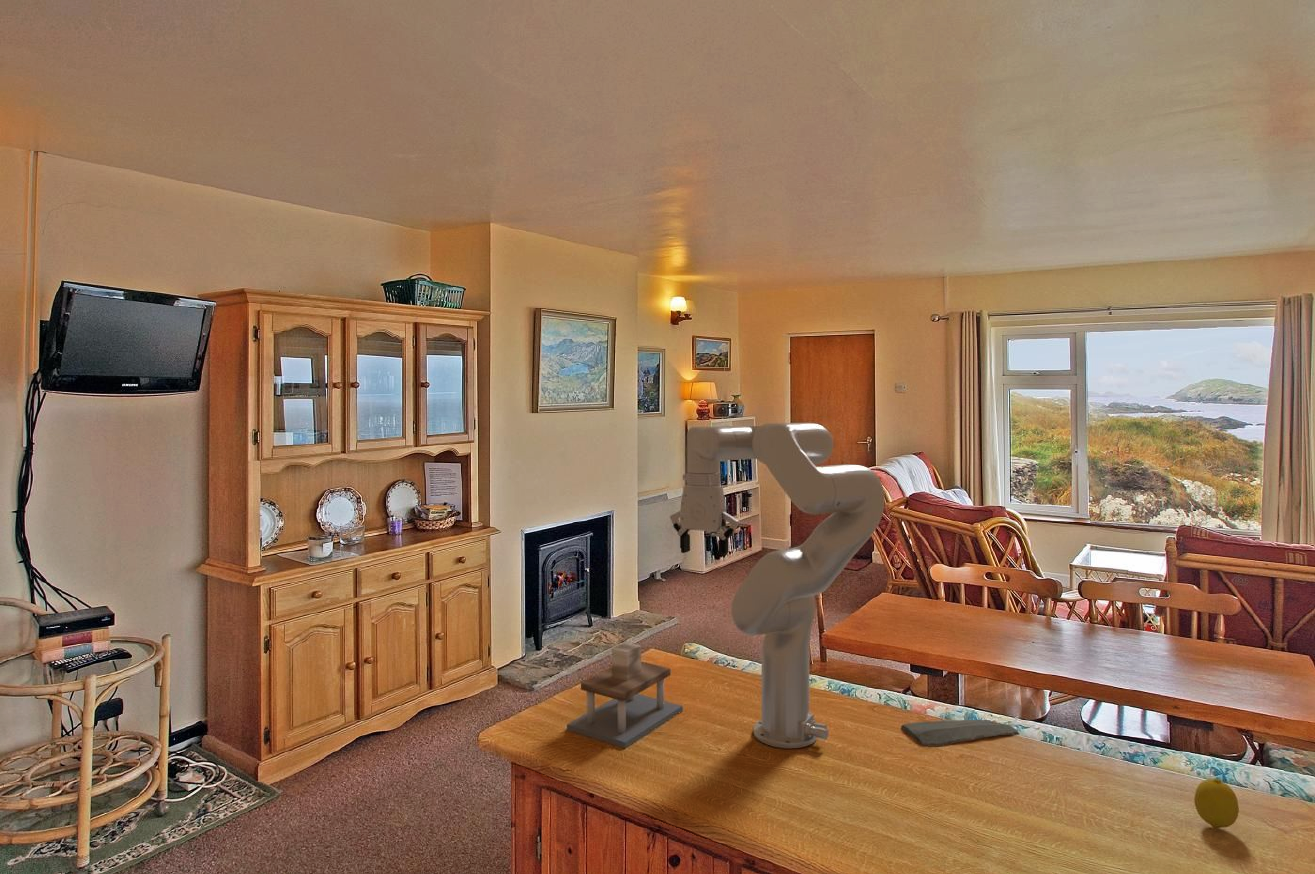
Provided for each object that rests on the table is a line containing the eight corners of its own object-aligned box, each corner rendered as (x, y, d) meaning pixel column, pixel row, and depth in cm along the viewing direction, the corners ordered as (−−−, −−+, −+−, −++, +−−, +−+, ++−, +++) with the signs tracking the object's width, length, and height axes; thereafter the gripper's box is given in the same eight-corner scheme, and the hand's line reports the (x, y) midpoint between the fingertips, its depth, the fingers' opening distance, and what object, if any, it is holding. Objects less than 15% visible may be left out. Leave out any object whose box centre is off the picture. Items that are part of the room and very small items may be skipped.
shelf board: (623, 701, 146) (623, 664, 146) (580, 689, 152) (580, 653, 152) (670, 675, 160) (670, 641, 160) (629, 665, 166) (629, 632, 166)
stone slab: (897, 735, 153) (925, 750, 143) (896, 721, 153) (925, 735, 144) (990, 724, 158) (1024, 739, 149) (989, 711, 158) (1023, 725, 149)
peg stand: (682, 711, 161) (682, 674, 161) (625, 748, 144) (625, 707, 143) (627, 696, 170) (627, 660, 169) (566, 729, 152) (566, 690, 152)
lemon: (1185, 819, 119) (1186, 770, 118) (1217, 817, 119) (1218, 769, 119) (1213, 839, 113) (1215, 788, 113) (1247, 837, 114) (1249, 786, 113)
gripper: (663, 479, 171) (663, 553, 172) (730, 483, 162) (730, 561, 163) (679, 477, 177) (679, 547, 178) (744, 480, 168) (744, 555, 169)
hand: (703, 554), depth 170 cm, fingers open, 9 cm apart
